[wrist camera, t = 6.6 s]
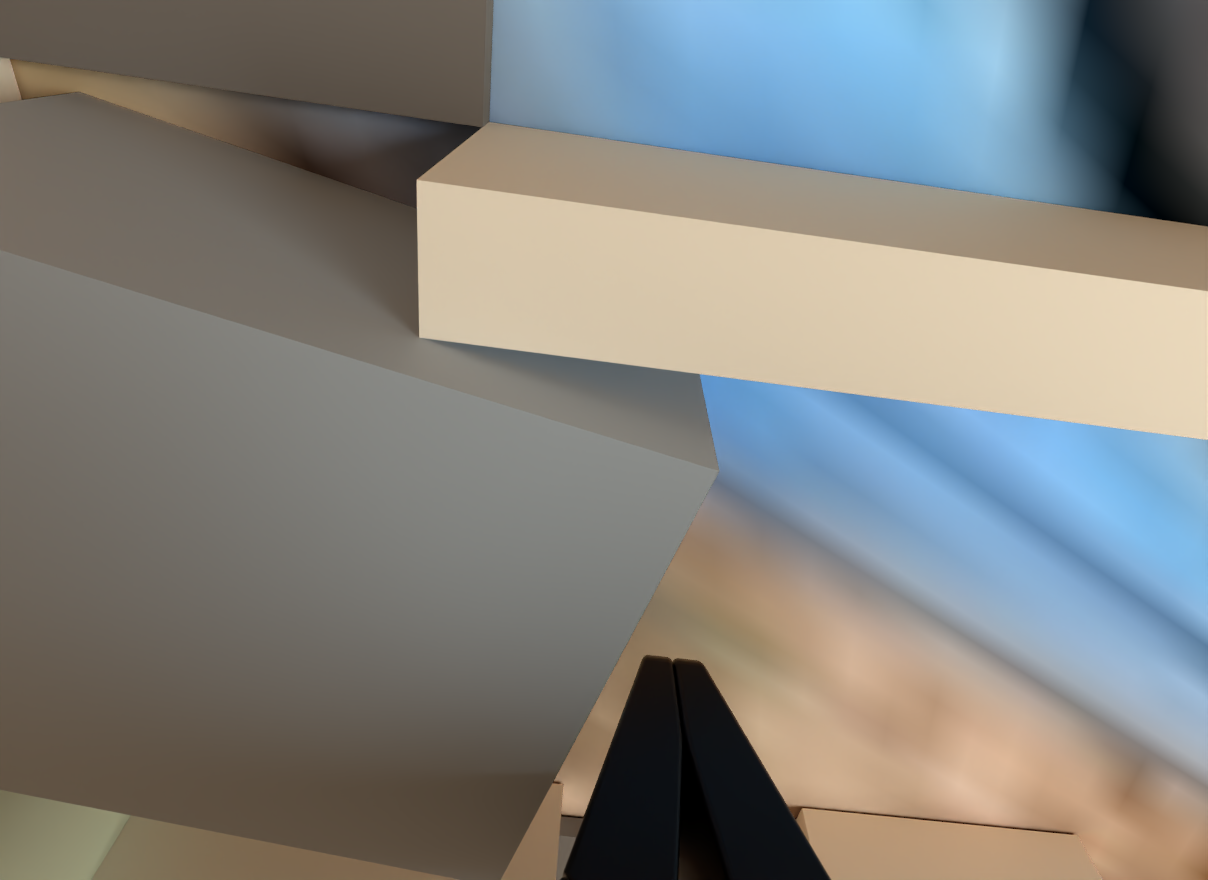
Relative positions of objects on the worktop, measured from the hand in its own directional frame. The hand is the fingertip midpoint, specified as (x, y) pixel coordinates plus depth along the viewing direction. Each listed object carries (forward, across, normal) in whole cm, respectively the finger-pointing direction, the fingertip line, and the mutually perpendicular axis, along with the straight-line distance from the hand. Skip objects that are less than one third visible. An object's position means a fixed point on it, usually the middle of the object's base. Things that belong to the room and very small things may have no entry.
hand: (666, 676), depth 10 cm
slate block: (+2, +5, -2) cm, 6 cm away
